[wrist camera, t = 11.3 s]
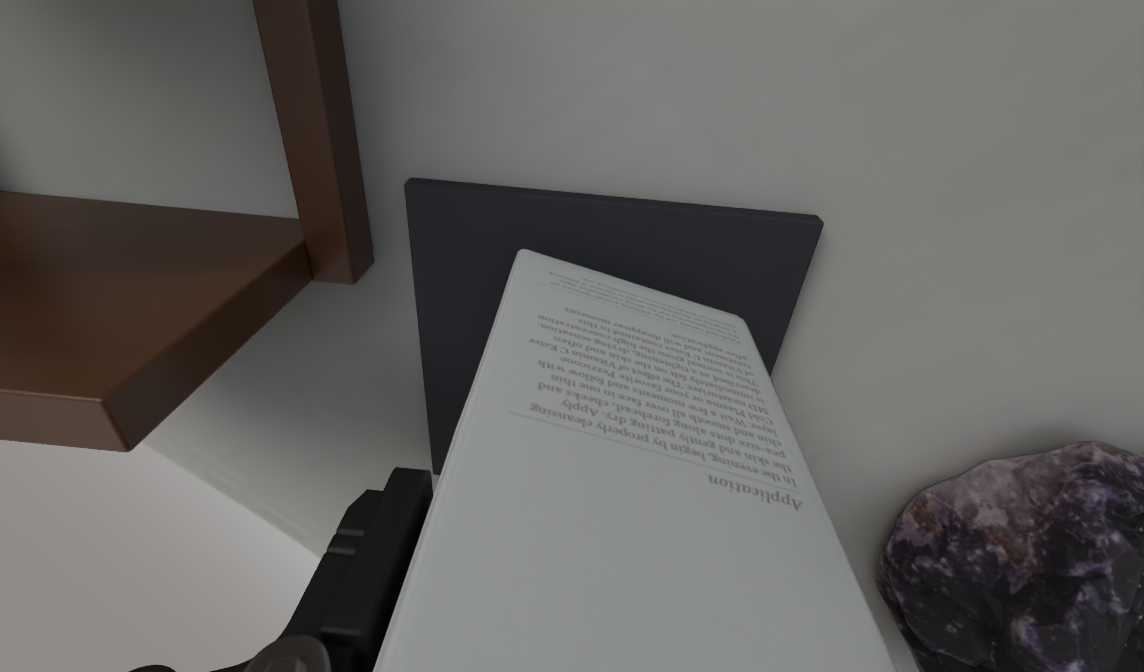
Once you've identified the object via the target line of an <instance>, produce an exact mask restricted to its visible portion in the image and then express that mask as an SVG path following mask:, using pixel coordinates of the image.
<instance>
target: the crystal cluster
mask: <svg viewBox="0 0 1144 672" xmlns="http://www.w3.org/2000/svg"><path fill="white" fill-rule="evenodd" d="M877 572H878V577H877V578H876V583H877V587H878V590H879V592H880V594H881V596H882V598H883V599H884V601H885V602H886V604H887V606H888V607H889V610H890V614H891V617H892V619H893V621H894V622H895V624H896V626H897V627H898V629H899V631H900V632H901V634H902V636H903V638H904V640H905V642H906V643H907V645H908V647H909V649H910V651H911V653H912V655H913V658H914V660H915V662H916V665H917V667H918V669H919V671H920V672H1144V458H1141V457H1138V456H1136V455H1134V454H1132V453H1131V452H1129V451H1126V450H1122V449H1119V448H1117V447H1114V446H1111V445H1109V444H1106V443H1103V442H1079V443H1074V444H1069V445H1067V446H1065V447H1063V448H1060V449H1057V450H1053V451H1050V452H1045V453H1040V454H1033V455H1026V456H1019V457H1012V458H1005V459H997V460H989V461H986V462H984V463H982V464H980V465H978V466H977V467H975V468H973V469H971V470H969V471H967V472H965V473H963V474H960V475H958V476H956V477H953V478H950V479H948V480H945V481H942V482H939V483H937V484H934V485H932V486H931V487H929V488H927V489H925V490H923V491H921V492H919V493H918V494H916V496H915V497H914V498H913V499H912V501H911V502H910V503H909V505H908V506H907V507H906V508H905V510H904V511H903V513H902V514H901V515H900V516H899V517H898V518H897V520H896V527H895V529H894V530H893V531H892V532H891V534H890V536H889V538H888V540H887V542H886V545H885V550H884V551H883V552H882V553H881V554H880V559H879V562H878V566H877Z"/></svg>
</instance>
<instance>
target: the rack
mask: <svg viewBox="0 0 1144 672" xmlns="http://www.w3.org/2000/svg"><path fill="white" fill-rule="evenodd" d="M252 1H253V6H254V10H255V15H256V20H257V24H258V29H259V33H260V38H261V43H262V47H263V52H264V57H265V61H266V66H267V70H268V75H269V80H270V84H271V89H272V93H273V98H274V103H275V107H276V112H277V116H278V121H279V126H280V130H281V135H282V139H283V144H284V149H285V153H286V158H287V162H288V167H289V172H290V176H291V181H292V186H293V190H294V195H295V199H296V204H297V209H298V213H299V218H300V219H291V218H280V217H270V216H259V215H249V214H238V213H227V212H217V211H206V210H196V209H185V208H175V207H164V206H153V205H143V204H132V203H122V202H111V201H101V200H90V199H79V198H69V197H58V196H48V195H37V194H27V193H16V192H5V191H0V440H9V441H19V442H29V443H39V444H48V445H59V446H68V447H78V448H88V449H98V450H108V451H118V452H129V451H131V450H132V449H134V448H135V447H136V446H137V445H138V444H139V443H140V442H141V441H142V440H143V439H144V438H145V437H146V436H147V435H148V434H149V433H150V432H152V431H153V430H154V429H155V428H156V427H157V426H158V425H159V424H160V423H161V422H162V421H163V420H164V419H165V418H166V417H167V416H169V415H170V414H171V413H172V412H173V411H174V410H175V409H176V408H177V407H178V406H179V405H180V404H181V403H182V402H183V401H184V400H186V399H187V398H188V397H189V396H190V395H191V394H192V393H193V392H194V391H195V390H196V389H197V388H198V387H199V386H200V385H201V384H202V383H204V382H205V381H206V380H207V379H208V378H209V377H210V376H211V375H212V374H213V373H214V372H215V371H216V370H217V369H218V368H219V367H221V366H222V365H223V364H224V363H225V362H226V361H227V360H228V359H229V358H230V357H231V356H232V355H233V354H234V353H235V352H236V351H237V350H239V349H240V348H241V347H242V346H243V345H244V344H245V343H246V342H247V341H248V340H249V339H250V338H251V337H252V336H253V335H254V334H256V333H257V332H258V331H259V330H260V329H261V328H262V327H263V326H264V325H265V324H266V323H267V322H268V321H269V320H270V319H271V318H273V317H274V316H275V315H276V314H277V313H278V312H279V311H280V310H281V309H282V308H283V307H284V306H285V305H286V304H287V303H288V302H289V301H291V300H292V299H293V298H294V297H295V296H296V295H297V294H298V293H299V292H300V291H301V290H302V289H303V288H304V287H305V286H306V285H308V284H309V283H310V282H311V281H312V280H314V281H320V282H330V283H341V284H351V285H352V284H355V283H356V282H357V281H358V280H359V279H360V278H361V277H362V276H363V275H364V273H365V272H366V271H367V270H368V269H369V268H370V267H371V266H372V265H373V263H374V257H373V251H372V244H371V237H370V230H369V223H368V216H367V209H366V202H365V195H364V188H363V181H362V174H361V167H360V160H359V153H358V146H357V139H356V132H355V125H354V118H353V111H352V104H351V97H350V90H349V83H348V76H347V69H346V62H345V55H344V48H343V41H342V34H341V27H340V20H339V13H338V6H337V0H252Z"/></svg>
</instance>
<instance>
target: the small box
mask: <svg viewBox="0 0 1144 672" xmlns="http://www.w3.org/2000/svg"><path fill="white" fill-rule="evenodd" d="M373 672H897V669H896V667H895V665H894V662H893V660H892V658H891V655H890V653H889V651H888V649H887V646H886V644H885V642H884V640H883V637H882V635H881V632H880V630H879V627H878V625H877V623H876V620H875V618H874V616H873V613H872V611H871V609H870V607H869V604H868V602H867V600H866V597H865V595H864V593H863V591H862V588H861V586H860V584H859V582H858V579H857V577H856V575H855V573H854V570H853V568H852V566H851V563H850V561H849V559H848V556H847V554H846V552H845V549H844V547H843V545H842V542H841V540H840V538H839V536H838V533H837V531H836V529H835V526H834V524H833V522H832V519H831V517H830V515H829V512H828V510H827V508H826V505H825V503H824V501H823V499H822V496H821V494H820V492H819V490H818V487H817V485H816V482H815V480H814V478H813V475H812V473H811V471H810V468H809V466H808V464H807V462H806V459H805V457H804V455H803V452H802V450H801V448H800V445H799V443H798V441H797V438H796V436H795V434H794V431H793V429H792V427H791V425H790V422H789V420H788V418H787V416H786V413H785V411H784V409H783V407H782V404H781V402H780V399H779V397H778V395H777V393H776V391H775V389H774V387H773V384H772V382H771V379H770V377H769V374H768V372H767V370H766V367H765V365H764V363H763V360H762V358H761V356H760V354H759V351H758V349H757V347H756V345H755V342H754V340H753V338H752V335H751V333H750V331H749V329H748V326H747V324H746V323H745V321H744V320H743V319H742V318H739V317H738V316H737V315H734V314H731V313H727V312H724V311H721V310H717V309H714V308H711V307H708V306H704V305H701V304H698V303H695V302H692V301H689V300H685V299H682V298H679V297H676V296H673V295H670V294H666V293H663V292H660V291H657V290H654V289H650V288H647V287H644V286H641V285H638V284H634V283H631V282H628V281H625V280H622V279H619V278H616V277H613V276H610V275H607V274H604V273H601V272H598V271H594V270H591V269H588V268H585V267H582V266H579V265H575V264H572V263H569V262H566V261H562V260H558V259H555V258H552V257H549V256H546V255H543V254H540V253H537V252H533V251H530V250H527V249H521V250H520V251H518V253H517V256H516V258H515V261H514V263H513V266H512V269H511V272H510V275H509V278H508V281H507V284H506V287H505V291H504V294H503V297H502V300H501V303H500V306H499V309H498V312H497V315H496V318H495V321H494V324H493V327H492V330H491V333H490V336H489V339H488V341H487V344H486V347H485V350H484V353H483V356H482V359H481V362H480V364H479V367H478V370H477V373H476V376H475V379H474V382H473V385H472V387H471V390H470V393H469V396H468V398H467V401H466V403H465V406H464V409H463V411H462V414H461V417H460V419H459V422H458V425H457V427H456V430H455V433H454V436H453V439H452V442H451V445H450V448H449V451H448V454H447V457H446V460H445V463H444V466H443V469H442V472H441V475H440V478H439V481H438V484H437V487H436V490H435V493H434V496H433V499H432V502H431V505H430V508H429V511H428V513H427V516H426V519H425V522H424V525H423V528H422V531H421V534H420V537H419V540H418V543H417V545H416V548H415V551H414V554H413V557H412V560H411V563H410V566H409V569H408V572H407V574H406V577H405V580H404V583H403V586H402V589H401V592H400V595H399V598H398V601H397V603H396V606H395V609H394V612H393V615H392V618H391V621H390V624H389V627H388V630H387V632H386V635H385V638H384V641H383V644H382V647H381V650H380V653H379V655H378V658H377V661H376V664H375V667H374V670H373Z"/></svg>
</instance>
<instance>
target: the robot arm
mask: <svg viewBox="0 0 1144 672" xmlns="http://www.w3.org/2000/svg"><path fill="white" fill-rule="evenodd" d="M432 499H433V489H432V478H431V472H430V471H429V470H420V469H410V468H400V467H396V468H395V469H394V470H393V471H392V473H391V475H390V477H389V479H388V482H387V484H386V486H385V488H384V490H383V491H379V490H369V489H367V490H366V491H365V492H364V493H363V494H362V495H361V496H360V497H359V498H358V499H357V500H356V501H354V502H353V503H352V504H351V505H350V506H349V507H348V509H347V511H346V512H345V514H344V516H343V518H342V520H341V522H340V524H339V526H338V528H337V532H336V534H334V536H333V538H332V540H331V542H330V544H329V546H328V548H327V552H326V553H324V555H323V557H322V559H321V561H320V563H319V565H318V567H317V569H316V571H315V573H314V575H313V577H312V579H311V581H310V583H309V585H308V586H307V588H306V590H305V592H304V594H303V596H302V598H301V600H300V602H299V604H298V606H297V608H296V610H295V612H294V614H293V616H292V618H291V620H290V621H289V623H288V625H287V627H286V628H285V630H284V631H283V632H282V634H281V635H280V636H279V637H278V638H277V639H276V641H274V642H272V643H271V644H269V645H268V646H266V647H265V648H264V649H262V650H261V651H260V652H259V653H258V654H257V655H256V656H255V657H254V658H252V659H250V660H248V661H246V662H243V663H241V664H239V665H235V666H232V667H228V668H224V669H219V670H215V671H211V672H373V670H374V667H375V664H376V661H377V658H378V655H379V653H380V650H381V647H382V644H383V641H384V638H385V635H386V632H387V630H388V627H389V624H390V621H391V618H392V615H393V612H394V609H395V606H396V603H397V601H398V598H399V595H400V592H401V589H402V586H403V583H404V580H405V577H406V574H407V572H408V569H409V566H410V563H411V560H412V557H413V554H414V551H415V548H416V545H417V543H418V540H419V537H420V534H421V531H422V528H423V525H424V522H425V519H426V516H427V513H428V511H429V508H430V505H431V502H432ZM129 672H175V671H174V670H173V669H171V668H170V667H167V666H163V665H150V666H144V667H140V668H137V669H134V670H132V671H129Z"/></svg>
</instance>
